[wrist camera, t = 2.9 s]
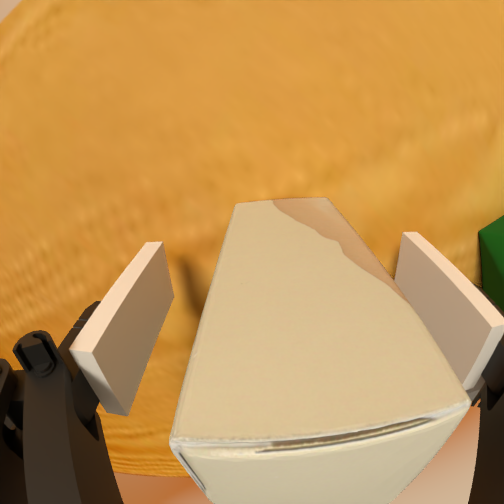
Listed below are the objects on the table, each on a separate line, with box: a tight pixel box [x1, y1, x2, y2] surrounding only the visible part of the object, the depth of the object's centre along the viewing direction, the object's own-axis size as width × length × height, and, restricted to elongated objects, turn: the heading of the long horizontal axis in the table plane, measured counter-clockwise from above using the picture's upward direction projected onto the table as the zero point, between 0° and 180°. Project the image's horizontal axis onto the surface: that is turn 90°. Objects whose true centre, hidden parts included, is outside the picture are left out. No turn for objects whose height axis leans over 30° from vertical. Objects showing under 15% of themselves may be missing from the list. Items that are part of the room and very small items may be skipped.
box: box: [169, 197, 471, 504], centre depth 9 cm, size 5×4×11 cm
